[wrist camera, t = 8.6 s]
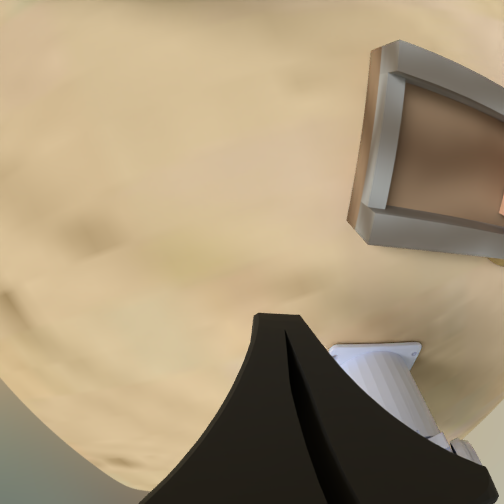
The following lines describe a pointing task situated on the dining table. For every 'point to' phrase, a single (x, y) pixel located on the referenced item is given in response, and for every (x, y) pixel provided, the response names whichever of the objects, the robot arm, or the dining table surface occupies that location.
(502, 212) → the salmon orange block
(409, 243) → the grey rectangular tray
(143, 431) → the dining table surface
